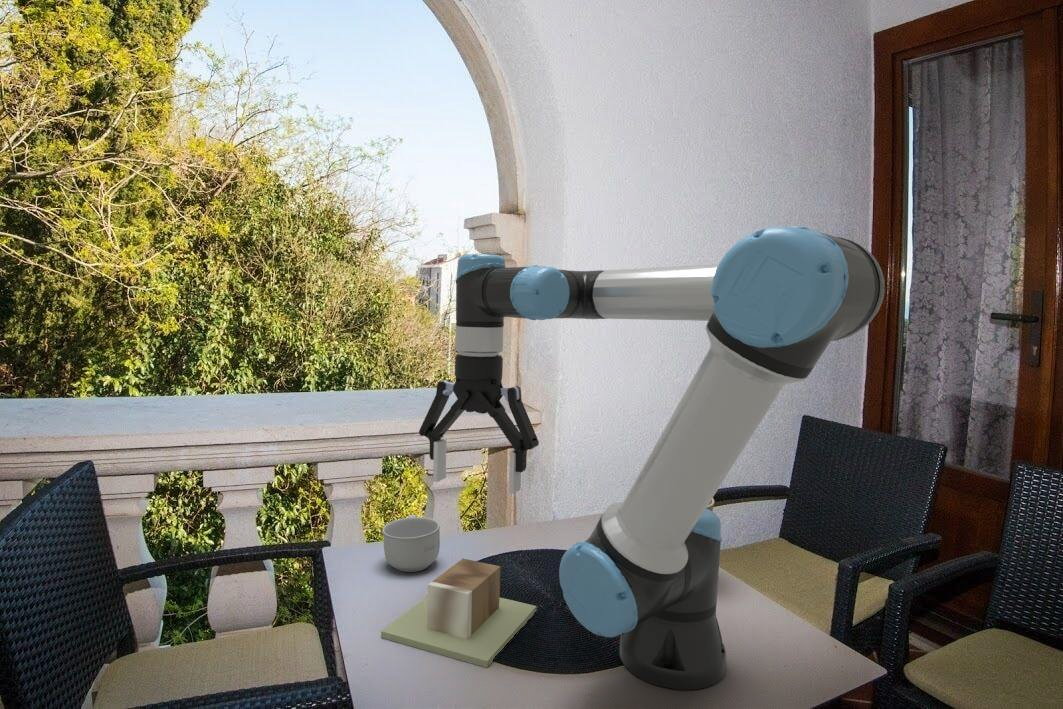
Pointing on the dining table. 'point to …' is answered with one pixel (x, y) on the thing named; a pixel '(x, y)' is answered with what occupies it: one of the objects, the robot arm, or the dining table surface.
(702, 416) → the robot arm
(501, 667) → the dining table surface
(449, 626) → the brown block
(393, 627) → the olive mat
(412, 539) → the teacup
